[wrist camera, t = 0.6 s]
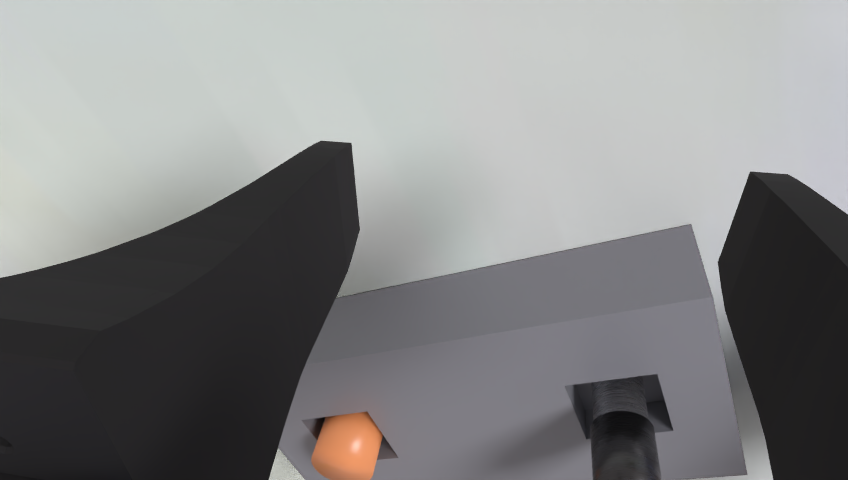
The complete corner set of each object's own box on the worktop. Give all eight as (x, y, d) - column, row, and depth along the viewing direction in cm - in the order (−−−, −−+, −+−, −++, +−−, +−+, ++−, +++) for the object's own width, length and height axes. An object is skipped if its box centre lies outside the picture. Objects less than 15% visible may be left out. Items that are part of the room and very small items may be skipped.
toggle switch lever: (659, 380, 25) (694, 588, 18) (614, 404, 26) (633, 606, 20) (618, 350, 24) (640, 556, 18) (575, 376, 25) (582, 577, 19)
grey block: (691, 224, 23) (712, 296, 20) (726, 395, 28) (747, 474, 25) (255, 315, 30) (220, 379, 27) (346, 438, 35) (326, 504, 32)
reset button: (373, 384, 28) (355, 444, 26) (398, 421, 30) (383, 482, 27) (321, 391, 29) (299, 450, 27) (347, 427, 31) (329, 486, 28)
